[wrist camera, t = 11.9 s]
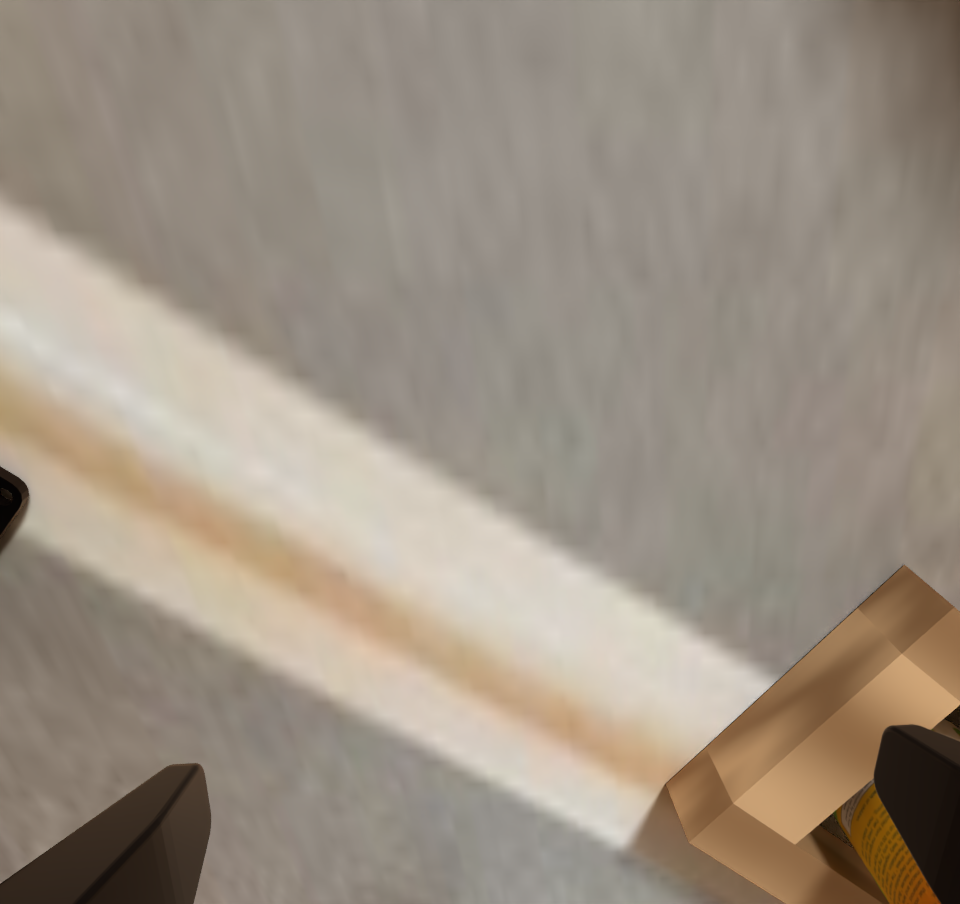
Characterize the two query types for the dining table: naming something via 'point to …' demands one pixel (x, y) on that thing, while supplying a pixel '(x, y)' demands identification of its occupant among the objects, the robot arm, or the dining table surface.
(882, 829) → the supplement bottle
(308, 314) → the dining table surface
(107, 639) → the dining table surface
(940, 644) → the brown open box
